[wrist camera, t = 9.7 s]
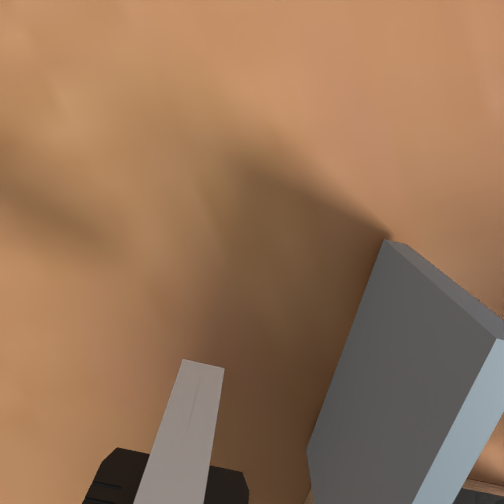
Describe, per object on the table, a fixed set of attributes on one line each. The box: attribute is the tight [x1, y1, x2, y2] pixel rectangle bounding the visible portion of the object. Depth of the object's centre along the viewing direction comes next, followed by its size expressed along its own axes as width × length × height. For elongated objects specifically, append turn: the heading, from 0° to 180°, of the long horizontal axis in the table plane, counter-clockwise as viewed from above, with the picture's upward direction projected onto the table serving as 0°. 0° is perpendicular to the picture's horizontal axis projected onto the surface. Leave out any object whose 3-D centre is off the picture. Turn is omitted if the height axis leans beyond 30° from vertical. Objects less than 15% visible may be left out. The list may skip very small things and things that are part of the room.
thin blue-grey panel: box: [306, 239, 504, 504], centre depth 16 cm, size 14×1×9 cm, turn 166°
